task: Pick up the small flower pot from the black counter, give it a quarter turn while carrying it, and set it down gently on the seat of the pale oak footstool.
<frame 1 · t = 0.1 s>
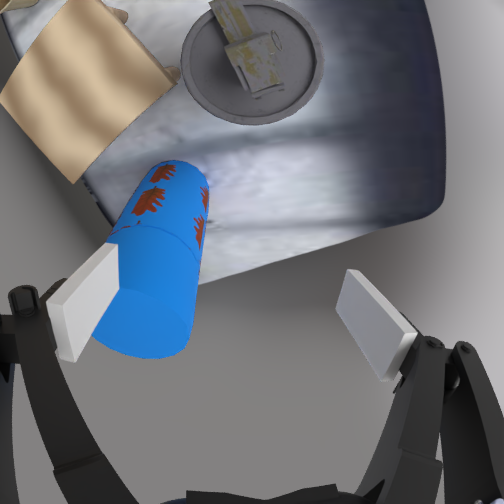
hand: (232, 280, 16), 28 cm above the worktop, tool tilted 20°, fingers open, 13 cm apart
footstool: (112, 74, 30), on the worktop
canister: (246, 57, 31), on the worktop
thermos: (175, 191, 43), on the worktop
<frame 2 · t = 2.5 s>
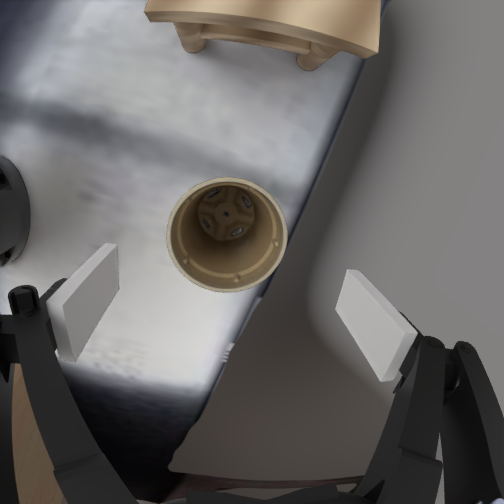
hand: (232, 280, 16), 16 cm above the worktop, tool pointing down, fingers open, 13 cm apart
footstool: (260, 6, 22), on the worktop
flower pot: (225, 213, 30), on the worktop
block: (22, 381, 37), on the worktop
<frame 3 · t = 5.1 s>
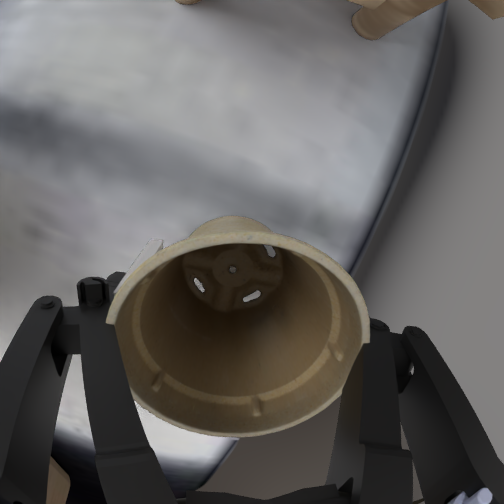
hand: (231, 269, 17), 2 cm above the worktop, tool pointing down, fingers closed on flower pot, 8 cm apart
flower pot: (231, 265, 18), point 1 cm above the worktop, touching gripper
block: (2, 426, 26), on the worktop
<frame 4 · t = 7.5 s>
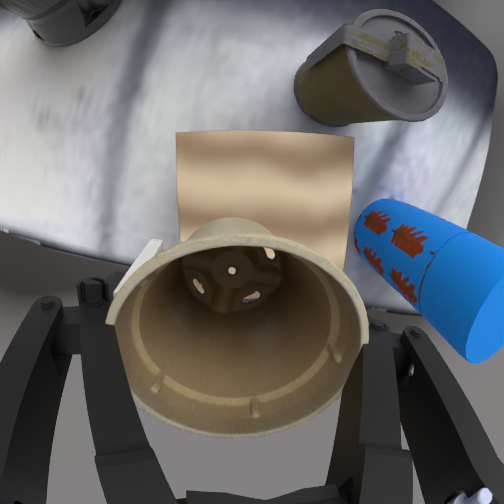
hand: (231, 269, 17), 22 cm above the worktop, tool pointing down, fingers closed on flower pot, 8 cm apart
footstool: (253, 196, 37), on the worktop
flower pot: (230, 267, 18), point 21 cm above the worktop, touching gripper
canister: (329, 90, 33), on the worktop
thermos: (383, 231, 41), on the worktop
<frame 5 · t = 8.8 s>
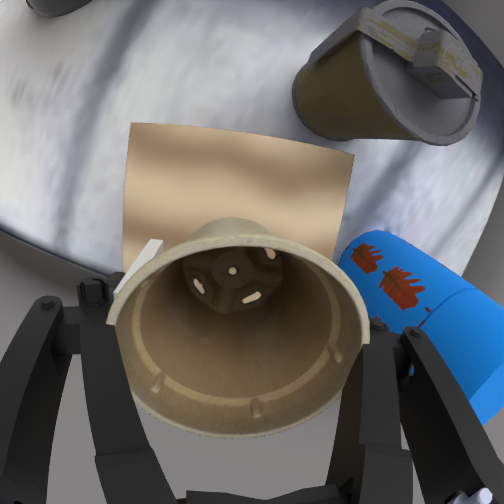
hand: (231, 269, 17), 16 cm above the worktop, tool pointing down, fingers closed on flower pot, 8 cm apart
footstool: (227, 209, 32), on the worktop
flower pot: (231, 267, 17), point 16 cm above the worktop, touching gripper
canister: (333, 97, 29), on the worktop
thermos: (371, 266, 37), on the worktop
when the fingers open (13 cm above the worktop, at t = 9.8 s): flower pot moves 3 cm, resting on footstool.
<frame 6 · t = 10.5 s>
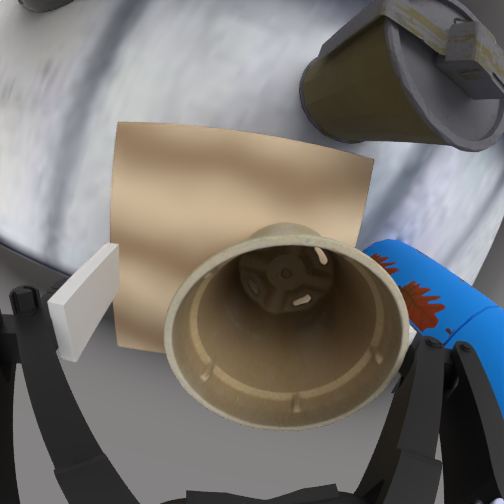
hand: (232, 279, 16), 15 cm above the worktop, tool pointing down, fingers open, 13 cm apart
footstool: (228, 217, 29), on the worktop
flower pot: (285, 270, 18), point 12 cm above the worktop, touching footstool, gripper
canister: (344, 95, 26), on the worktop
thermos: (382, 277, 34), on the worktop
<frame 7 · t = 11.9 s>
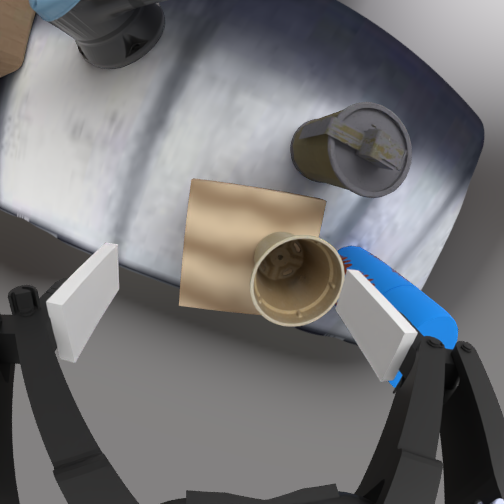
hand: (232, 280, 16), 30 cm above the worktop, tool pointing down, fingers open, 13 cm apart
footstool: (243, 230, 46), on the worktop
flower pot: (278, 256, 35), point 12 cm above the worktop, touching footstool
canister: (320, 149, 43), on the worktop
block: (0, 41, 28), on the worktop
thermos: (348, 272, 51), on the worktop
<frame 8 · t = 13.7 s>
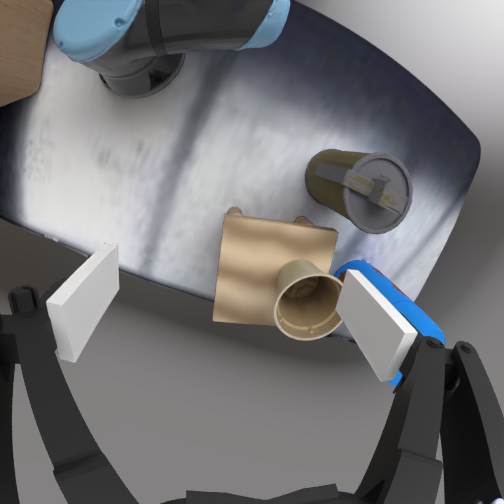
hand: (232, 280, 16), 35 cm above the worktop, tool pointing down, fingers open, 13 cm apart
footstool: (263, 250, 53), on the worktop
flower pot: (297, 278, 42), point 12 cm above the worktop, touching footstool
canister: (331, 177, 49), on the worktop
block: (12, 60, 33), on the worktop
thermos: (353, 283, 57), on the worktop
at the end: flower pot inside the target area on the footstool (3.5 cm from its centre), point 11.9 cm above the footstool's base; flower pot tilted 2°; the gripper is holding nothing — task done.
